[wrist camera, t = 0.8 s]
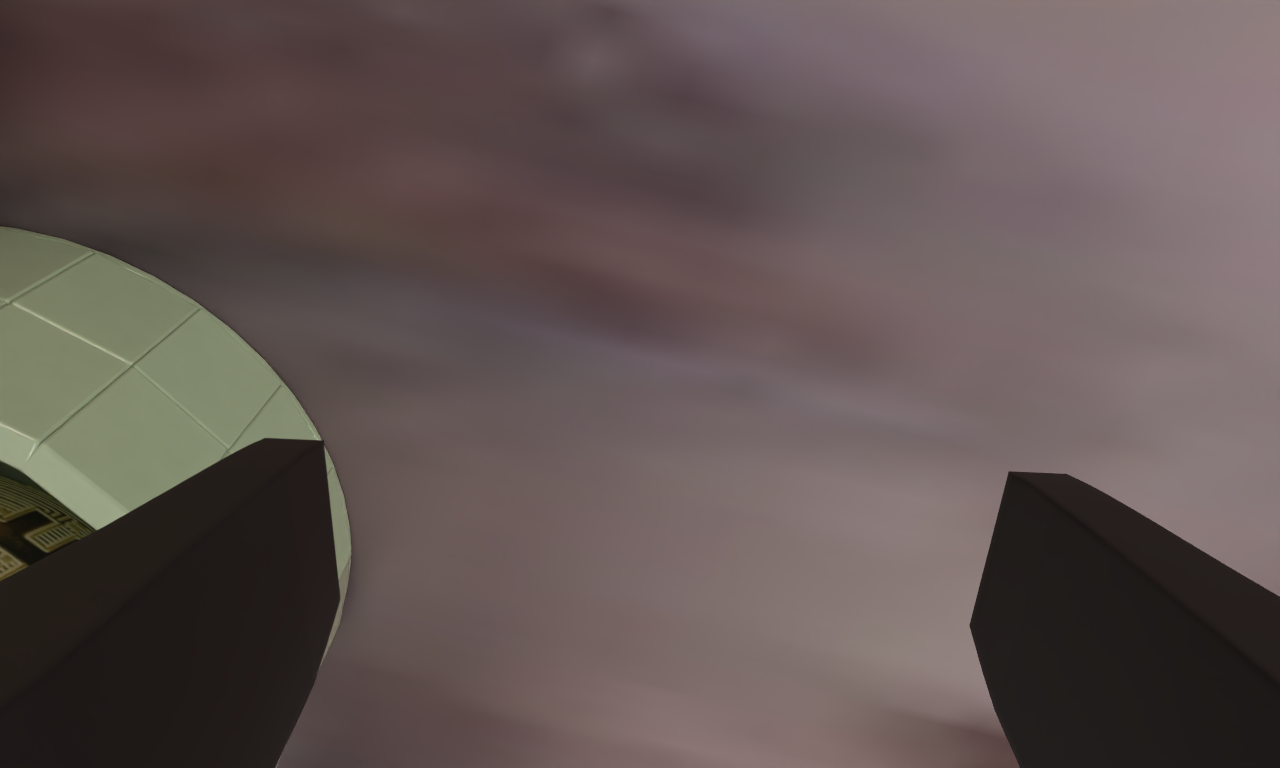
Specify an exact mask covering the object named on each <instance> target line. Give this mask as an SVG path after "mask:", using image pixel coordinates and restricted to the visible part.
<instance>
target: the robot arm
mask: <svg viewBox="0 0 1280 768" xmlns="http://www.w3.org/2000/svg"><path fill="white" fill-rule="evenodd" d="M340 599H341V598H340V589H339V580H338V570H337V561H336V552H335V542H334V533H333V524H332V515H331V505H330V496H329V487H328V477H327V468H326V459H325V449H324V440H303V439H280V438H263V439H261V440H259V441H257V442H254V443H252V444H250V445H248V446H246V447H244V448H242V449H240V450H238V451H236V452H234V453H233V454H231V455H229V456H227V457H225V458H223V459H222V460H220V461H218V462H216V463H214V464H213V465H211V466H209V467H207V468H206V469H204V470H202V471H200V472H199V473H197V474H195V475H193V476H192V477H190V478H188V479H186V480H185V481H183V482H181V483H180V484H178V485H176V486H174V487H173V488H171V489H169V490H167V491H166V492H164V493H162V494H160V495H159V496H157V497H155V498H153V499H152V500H150V501H148V502H146V503H145V504H143V505H141V506H139V507H138V508H136V509H134V510H132V511H130V512H129V513H127V514H125V515H123V516H122V517H120V518H118V519H116V520H115V521H113V522H111V523H109V524H108V525H106V526H104V527H102V528H100V529H99V530H97V531H95V532H93V533H91V534H89V535H87V536H85V537H83V538H82V539H80V540H78V541H76V542H74V543H72V544H70V545H68V546H66V547H64V548H62V549H60V550H59V551H57V552H55V553H53V554H51V555H49V556H47V557H45V558H43V559H41V560H39V561H38V562H36V563H34V564H32V565H30V566H28V567H26V568H24V569H22V570H20V571H18V572H16V573H15V574H13V575H11V576H9V577H7V578H5V579H3V580H1V581H0V768H275V767H276V765H277V763H278V761H279V759H280V757H281V755H282V752H283V750H284V748H285V746H286V744H287V742H288V740H289V737H290V735H291V733H292V731H293V729H294V727H295V724H296V722H297V720H298V718H299V716H300V714H301V712H302V709H303V707H304V705H305V703H306V701H307V698H308V696H309V694H310V692H311V690H312V687H313V685H314V683H315V680H316V677H317V674H318V671H319V668H320V664H321V661H322V658H323V655H324V652H325V649H326V646H327V643H328V640H329V636H330V633H331V630H332V626H333V623H334V620H335V616H336V613H337V610H338V606H339V603H340ZM970 629H971V632H972V636H973V639H974V643H975V647H976V650H977V654H978V657H979V661H980V664H981V668H982V672H983V675H984V678H985V681H986V684H987V687H988V690H989V694H990V697H991V700H992V703H993V706H994V709H995V712H996V714H997V716H998V719H999V721H1000V723H1001V726H1002V728H1003V730H1004V733H1005V735H1006V737H1007V739H1008V741H1009V744H1010V746H1011V748H1012V750H1013V752H1014V755H1015V757H1016V759H1017V761H1018V764H1019V766H1020V768H1280V597H1279V596H1277V595H1276V594H1274V593H1272V592H1270V591H1269V590H1267V589H1265V588H1264V587H1262V586H1260V585H1258V584H1257V583H1255V582H1253V581H1252V580H1250V579H1248V578H1247V577H1245V576H1243V575H1241V574H1240V573H1238V572H1236V571H1235V570H1233V569H1231V568H1230V567H1228V566H1226V565H1225V564H1223V563H1221V562H1220V561H1218V560H1216V559H1215V558H1213V557H1211V556H1210V555H1208V554H1206V553H1205V552H1203V551H1201V550H1200V549H1198V548H1196V547H1195V546H1193V545H1191V544H1190V543H1188V542H1186V541H1185V540H1183V539H1181V538H1180V537H1178V536H1176V535H1175V534H1173V533H1171V532H1170V531H1168V530H1166V529H1165V528H1163V527H1162V526H1160V525H1158V524H1157V523H1155V522H1153V521H1152V520H1150V519H1148V518H1147V517H1145V516H1143V515H1142V514H1140V513H1138V512H1137V511H1135V510H1133V509H1131V508H1130V507H1128V506H1126V505H1125V504H1123V503H1121V502H1119V501H1118V500H1116V499H1114V498H1112V497H1111V496H1109V495H1107V494H1105V493H1103V492H1102V491H1100V490H1098V489H1096V488H1094V487H1092V486H1090V485H1088V484H1086V483H1085V482H1082V481H1080V480H1078V479H1076V478H1074V477H1072V476H1070V475H1067V474H1053V473H1031V472H1009V473H1008V477H1007V481H1006V485H1005V489H1004V493H1003V497H1002V501H1001V504H1000V508H999V512H998V516H997V520H996V524H995V528H994V532H993V536H992V540H991V544H990V548H989V551H988V555H987V559H986V563H985V567H984V571H983V575H982V579H981V583H980V587H979V591H978V595H977V598H976V602H975V606H974V610H973V614H972V618H971V622H970Z"/></svg>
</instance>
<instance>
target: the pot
mask: <svg viewBox="0 0 1280 768" xmlns="http://www.w3.org/2000/svg"><path fill="white" fill-rule="evenodd" d="M263 438H280V439H303V440H321V438H320V435H319V433H318V431H317V429H316V428H315V426H314V425H313V423H312V422H311V420H310V418H309V417H308V415H307V414H306V412H305V411H304V409H303V408H302V406H301V405H300V403H299V402H298V400H297V399H296V397H295V396H294V394H293V393H292V392H291V391H290V389H289V388H288V387H287V386H286V385H285V383H284V382H283V381H282V380H281V379H280V378H279V376H278V375H277V374H276V373H275V372H274V370H273V369H272V368H271V367H270V366H269V364H268V363H267V362H266V361H265V360H264V359H263V358H262V357H261V356H260V355H259V354H258V353H257V352H256V351H254V350H253V349H252V348H251V347H250V346H249V345H248V344H247V343H246V342H245V341H244V340H243V339H242V338H241V337H240V336H239V335H238V334H237V333H236V332H234V331H233V330H232V329H231V328H230V327H228V326H227V325H226V324H224V323H223V322H222V321H220V320H219V319H218V318H217V317H215V316H214V315H213V314H211V313H210V312H209V311H207V310H206V309H205V308H203V307H202V306H201V305H199V304H198V303H197V302H196V301H194V300H192V299H191V298H189V297H187V296H186V295H184V294H182V293H181V292H179V291H178V290H176V289H174V288H173V287H171V286H169V285H168V284H166V283H164V282H163V281H161V280H159V279H158V278H156V277H155V276H153V275H150V274H148V273H146V272H144V271H142V270H140V269H138V268H136V267H134V266H131V265H129V264H127V263H125V262H123V261H121V260H119V259H117V258H115V257H112V256H110V255H108V254H105V253H102V252H99V251H96V250H93V249H91V248H88V247H85V246H82V245H79V244H76V243H73V242H70V241H68V240H65V239H61V238H57V237H52V236H48V235H44V234H39V233H35V232H31V231H26V230H22V229H18V228H11V227H2V226H0V475H1V476H4V477H8V478H11V479H14V480H16V481H19V482H22V483H24V484H27V485H30V486H32V487H35V488H37V489H39V490H41V491H44V492H46V493H48V494H50V495H52V496H53V497H54V498H56V499H57V500H58V501H60V502H61V503H62V504H63V505H65V506H66V507H67V508H68V509H70V510H71V511H72V512H74V513H75V514H76V515H77V516H79V517H80V518H81V519H82V520H84V521H85V522H86V523H87V524H89V525H90V526H91V527H93V528H94V529H95V530H96V531H97V530H99V529H100V528H102V527H104V526H106V525H108V524H109V523H111V522H113V521H115V520H116V519H118V518H120V517H122V516H123V515H125V514H127V513H129V512H130V511H132V510H134V509H136V508H138V507H139V506H141V505H143V504H145V503H146V502H148V501H150V500H152V499H153V498H155V497H157V496H159V495H160V494H162V493H164V492H166V491H167V490H169V489H171V488H173V487H174V486H176V485H178V484H180V483H181V482H183V481H185V480H186V479H188V478H190V477H192V476H193V475H195V474H197V473H199V472H200V471H202V470H204V469H206V468H207V467H209V466H211V465H213V464H214V463H216V462H218V461H220V460H222V459H223V458H225V457H227V456H229V455H231V454H233V453H234V452H236V451H238V450H240V449H242V448H244V447H246V446H248V445H250V444H252V443H254V442H257V441H259V440H261V439H263ZM324 449H325V459H326V468H327V477H328V487H329V496H330V505H331V515H332V524H333V533H334V542H335V552H336V561H337V570H338V580H339V589H340V598H341V599H340V603H339V606H338V610H337V613H336V616H335V620H334V623H333V626H332V630H331V633H330V636H329V640H328V643H327V646H326V649H325V652H324V655H323V658H322V661H321V664H320V668H321V665H322V663H323V661H324V658H325V656H326V654H327V652H328V649H329V647H330V645H331V643H332V640H333V638H334V636H335V634H336V631H337V629H338V627H339V624H340V621H341V615H342V609H343V603H344V600H345V597H346V594H347V587H348V580H349V574H350V567H351V537H350V526H349V520H348V515H347V509H346V503H345V498H344V495H343V492H342V489H341V486H340V483H339V480H338V477H337V474H336V471H335V468H334V465H333V462H332V460H331V458H330V456H329V454H328V452H327V450H326V448H325V446H324ZM320 668H319V670H320ZM318 672H319V671H318ZM290 736H291V735H290ZM289 738H290V737H289ZM286 745H287V744H286ZM285 747H286V746H285ZM284 749H285V748H284ZM283 751H284V750H283ZM282 754H283V752H282ZM281 756H282V755H281ZM280 758H281V757H280ZM279 761H280V759H279ZM279 761H278V763H279ZM278 763H277V765H278ZM277 765H276V767H277ZM276 767H275V768H276Z"/></svg>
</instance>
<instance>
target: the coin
mask: <svg viewBox="0 0 1280 768" xmlns="http://www.w3.org/2000/svg"><path fill="white" fill-rule="evenodd" d="M95 531H96V530H95V529H94V528H93V527H91V526H90V525H89V524H87V523H86V522H85V521H84V520H82V519H81V518H80V517H79V516H77V515H76V514H75V513H74V512H72V511H71V510H70V509H68V508H67V507H66V506H65V505H63V504H62V503H61V502H60V501H58V500H57V499H56V498H54V497H53V496H52V495H50V494H48V493H46V492H44V491H41V490H39V489H37V488H35V487H32V486H30V485H27V484H24V483H22V482H19V481H16V480H14V479H11V478H8V477H4V476H1V475H0V581H1V580H3V579H5V578H7V577H9V576H11V575H13V574H15V573H16V572H18V571H20V570H22V569H24V568H26V567H28V566H30V565H32V564H34V563H36V562H38V561H39V560H41V559H43V558H45V557H47V556H49V555H51V554H53V553H55V552H57V551H59V550H60V549H62V548H64V547H66V546H68V545H70V544H72V543H74V542H76V541H78V540H80V539H82V538H83V537H85V536H87V535H89V534H91V533H93V532H95Z"/></svg>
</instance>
